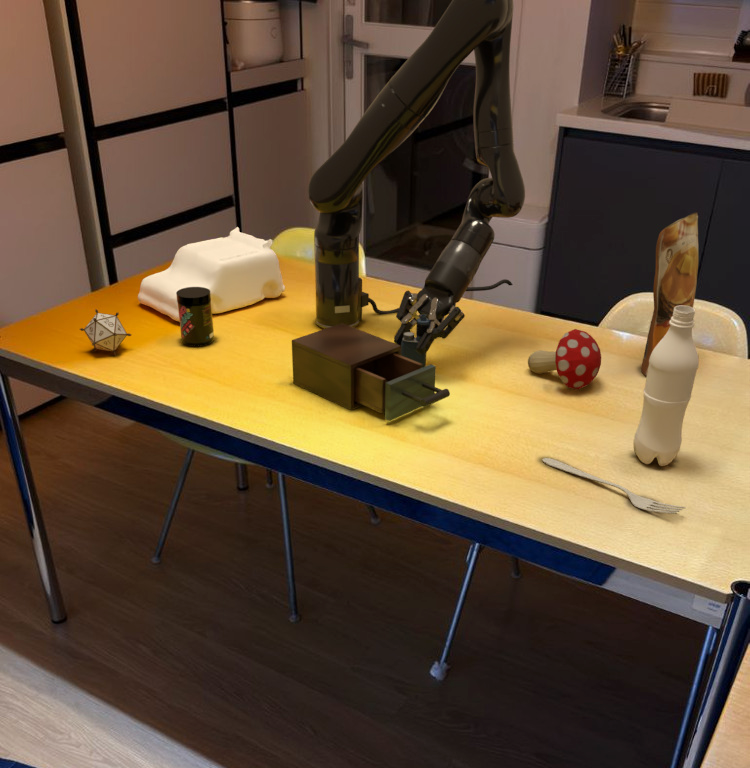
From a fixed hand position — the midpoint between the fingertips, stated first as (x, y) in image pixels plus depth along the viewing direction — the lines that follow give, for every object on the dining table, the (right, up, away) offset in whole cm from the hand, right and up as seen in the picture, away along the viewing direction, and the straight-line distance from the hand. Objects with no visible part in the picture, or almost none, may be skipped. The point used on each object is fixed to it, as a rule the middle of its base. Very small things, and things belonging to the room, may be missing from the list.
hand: (407, 348), depth 164 cm
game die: (-60, +1, +12) cm, 61 cm away
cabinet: (-11, -7, -1) cm, 14 cm away
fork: (+29, -27, -30) cm, 50 cm away
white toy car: (-43, +17, +38) cm, 60 cm away
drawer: (-3, -11, -8) cm, 14 cm away
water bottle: (+39, -22, -22) cm, 50 cm away
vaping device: (+1, -5, +4) cm, 6 cm away
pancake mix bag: (+51, -1, +11) cm, 52 cm away
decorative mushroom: (+30, -6, +3) cm, 30 cm away
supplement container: (-43, +4, +17) cm, 46 cm away
